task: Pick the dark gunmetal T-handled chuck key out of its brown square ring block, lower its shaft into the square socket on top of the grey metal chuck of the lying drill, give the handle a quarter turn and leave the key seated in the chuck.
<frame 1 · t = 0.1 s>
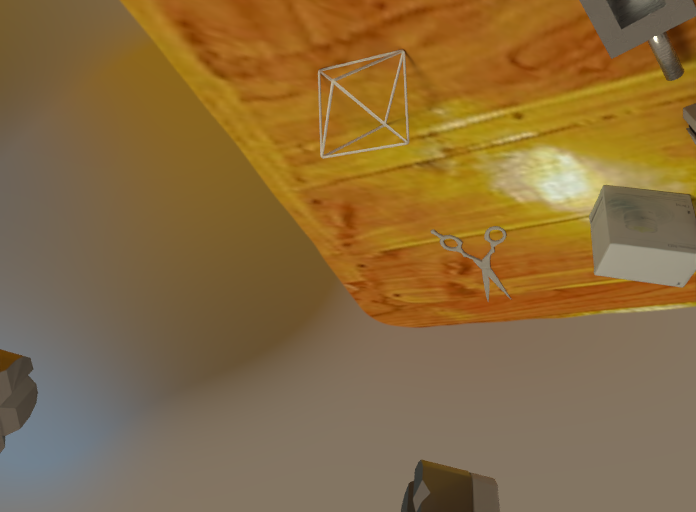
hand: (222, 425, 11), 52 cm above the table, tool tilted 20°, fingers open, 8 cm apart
skincare box: (637, 203, 70), on the table
geometric polyhedron: (369, 82, 65), on the table
scissors: (483, 262, 86), on the table
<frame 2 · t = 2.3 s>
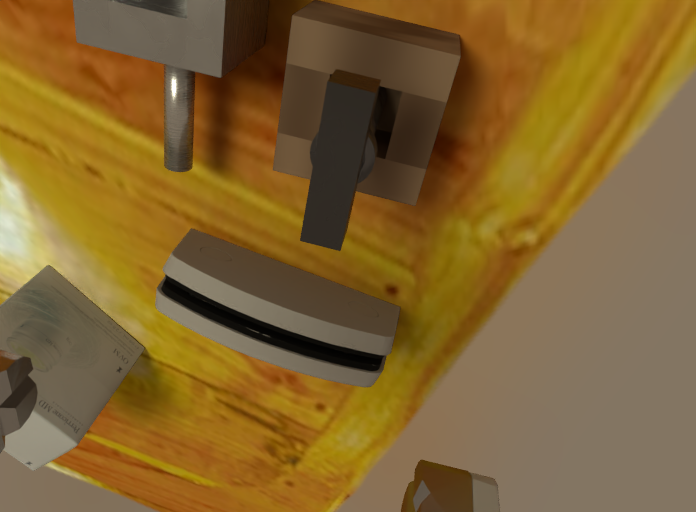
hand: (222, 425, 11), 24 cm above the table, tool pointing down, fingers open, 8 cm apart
skincare box: (81, 319, 46), on the table
brown square ring block: (370, 90, 31), on the table
chuck key: (368, 95, 30), point 1 cm above the table, touching brown square ring block
grey curved-top slotted block: (294, 277, 40), on the table
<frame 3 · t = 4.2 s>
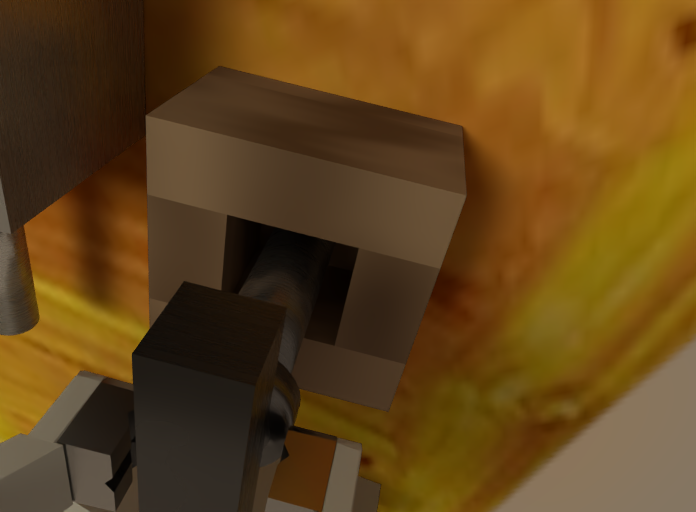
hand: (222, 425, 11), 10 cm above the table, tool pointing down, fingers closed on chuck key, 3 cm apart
brown square ring block: (319, 204, 19), on the table
chuck key: (313, 217, 18), point 1 cm above the table, touching gripper, brown square ring block
grey curved-top slotted block: (231, 436, 28), on the table
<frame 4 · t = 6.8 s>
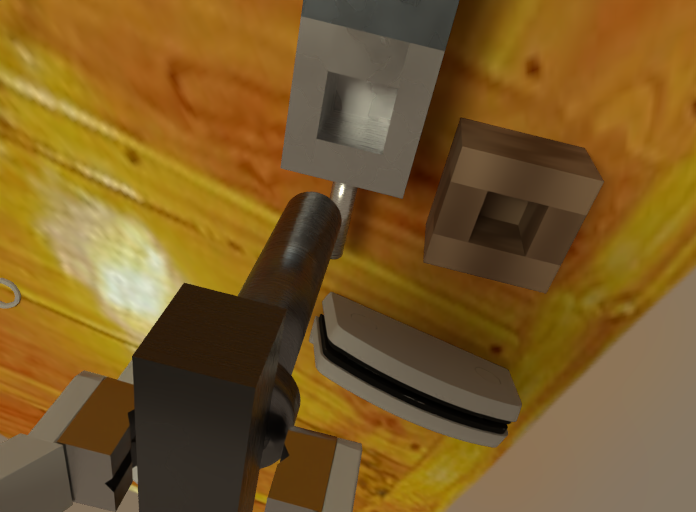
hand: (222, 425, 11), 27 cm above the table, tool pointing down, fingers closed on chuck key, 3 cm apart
brown square ring block: (500, 188, 36), on the table
chuck key: (313, 218, 18), point 18 cm above the table, touching gripper
grey curved-top slotted block: (415, 337, 45), on the table
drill: (371, 79, 33), on the table
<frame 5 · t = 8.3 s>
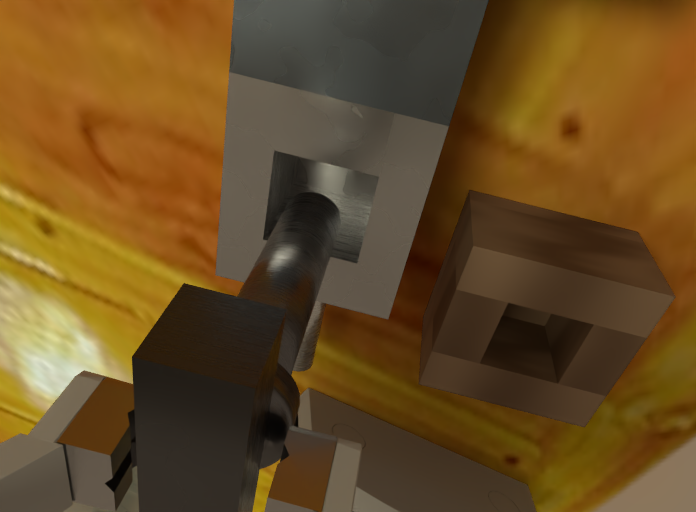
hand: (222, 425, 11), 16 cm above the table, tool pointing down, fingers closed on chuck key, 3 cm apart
skincare box: (151, 463, 42), on the table
brown square ring block: (521, 278, 27), on the table
chuck key: (312, 218, 18), point 7 cm above the table, touching gripper
grey curved-top slotted block: (412, 442, 36), on the table
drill: (349, 139, 25), on the table
when the fingers open (12 cm above the table, at t = 9.6 s): chuck key stays where it is, resting on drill.
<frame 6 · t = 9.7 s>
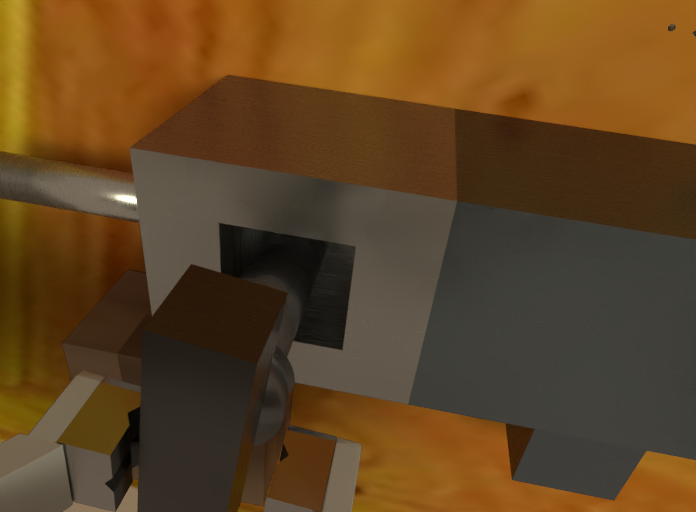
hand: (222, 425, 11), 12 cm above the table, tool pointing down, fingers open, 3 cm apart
brown square ring block: (214, 349, 26), on the table
chuck key: (312, 209, 19), point 2 cm above the table, touching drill
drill: (331, 182, 20), on the table
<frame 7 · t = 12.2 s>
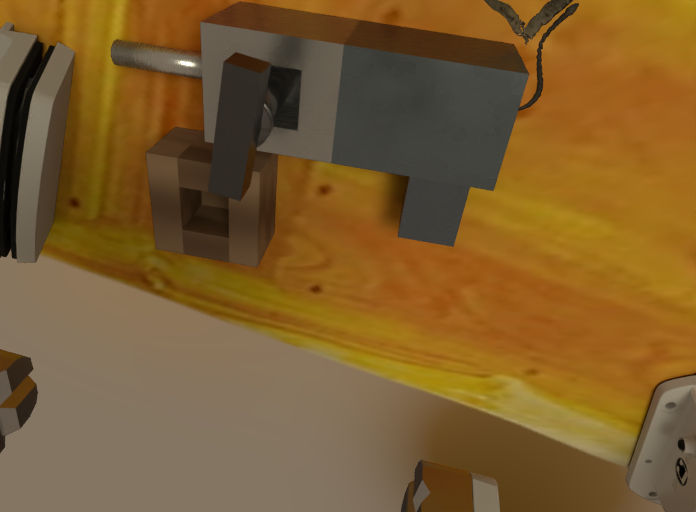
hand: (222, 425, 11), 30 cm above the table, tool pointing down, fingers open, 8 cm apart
brown square ring block: (227, 182, 43), on the table
chuck key: (284, 75, 35), point 2 cm above the table, touching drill
grey curved-top slotted block: (51, 138, 43), on the table
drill: (296, 65, 37), on the table
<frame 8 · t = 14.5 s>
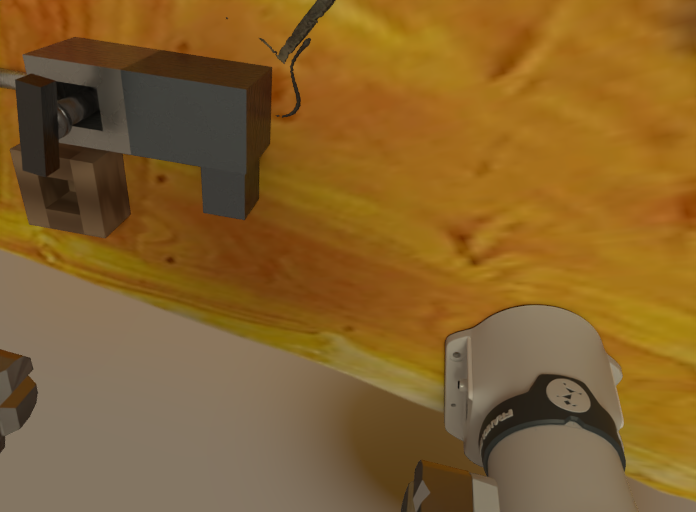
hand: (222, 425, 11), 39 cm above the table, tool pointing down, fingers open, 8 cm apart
brown square ring block: (88, 173, 55), on the table
chuck key: (108, 90, 47), point 2 cm above the table, touching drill
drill: (122, 83, 49), on the table
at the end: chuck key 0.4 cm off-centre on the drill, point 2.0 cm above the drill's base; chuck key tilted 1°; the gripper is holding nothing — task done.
